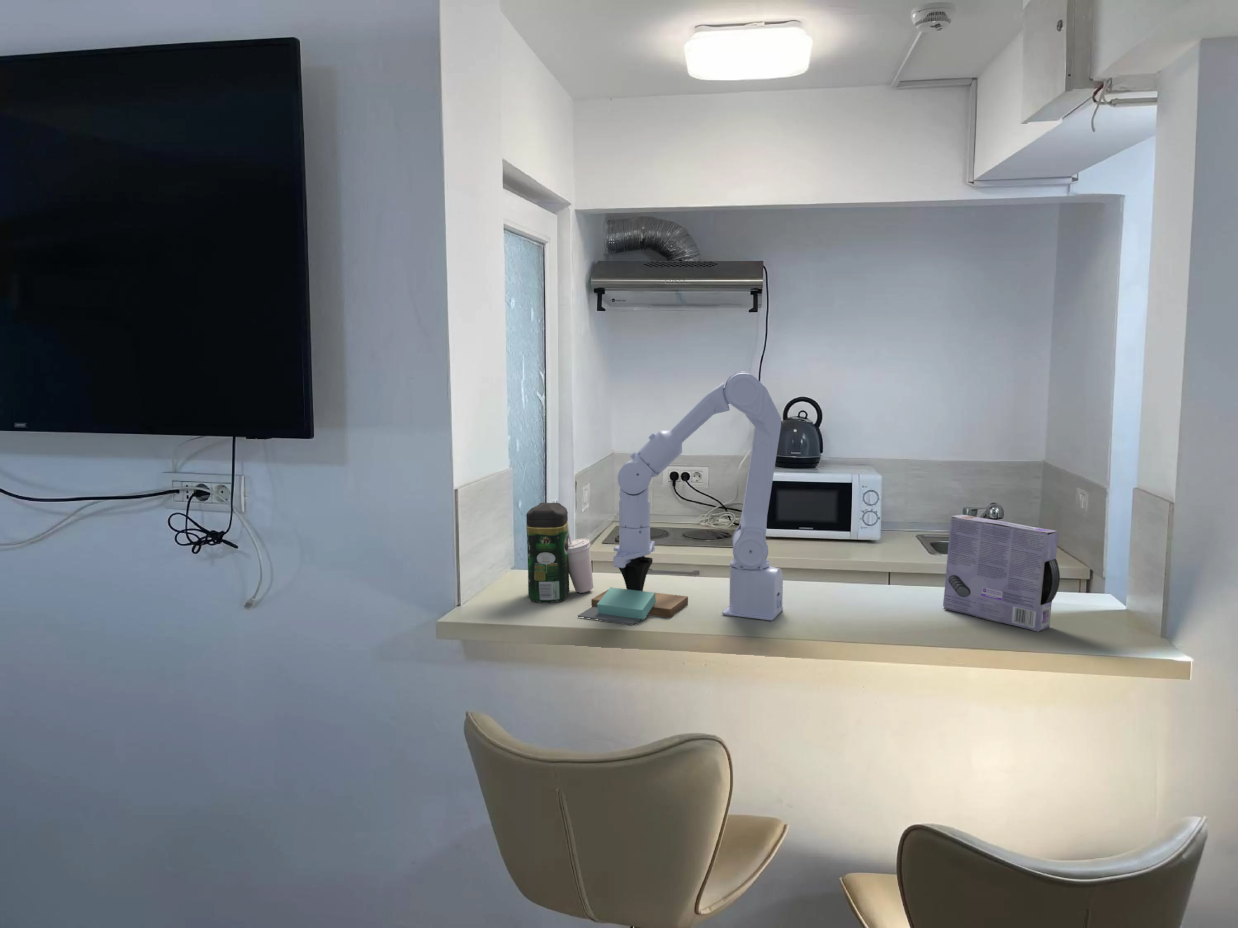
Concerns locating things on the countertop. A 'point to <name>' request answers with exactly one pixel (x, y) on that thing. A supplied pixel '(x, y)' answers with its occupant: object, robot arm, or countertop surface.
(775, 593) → the robot arm
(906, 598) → the countertop surface
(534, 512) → the coffee jar
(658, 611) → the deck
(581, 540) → the smoothie
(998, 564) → the cake pan box
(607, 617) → the mat
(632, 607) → the teal rectangular block
